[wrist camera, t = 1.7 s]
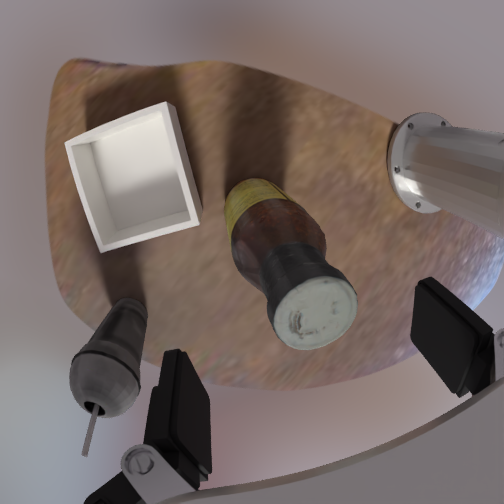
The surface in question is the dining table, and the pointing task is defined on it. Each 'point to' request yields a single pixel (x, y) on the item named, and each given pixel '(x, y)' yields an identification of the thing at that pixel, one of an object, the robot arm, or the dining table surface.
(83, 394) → the beverage cup
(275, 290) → the sauce bottle
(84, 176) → the box
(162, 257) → the dining table surface
